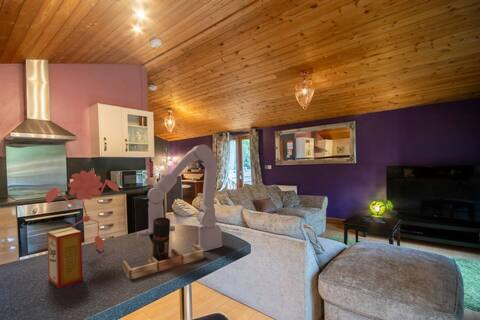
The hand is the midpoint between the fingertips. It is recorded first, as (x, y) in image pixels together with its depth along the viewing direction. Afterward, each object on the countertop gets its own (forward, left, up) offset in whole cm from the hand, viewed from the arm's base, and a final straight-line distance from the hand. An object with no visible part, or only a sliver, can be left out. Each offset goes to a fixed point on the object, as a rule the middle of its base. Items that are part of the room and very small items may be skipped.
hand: (157, 252), depth 99 cm
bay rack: (0, +9, -2) cm, 9 cm away
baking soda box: (+30, +1, -2) cm, 30 cm away
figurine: (+22, -19, -2) cm, 29 cm away
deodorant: (0, +4, -1) cm, 4 cm away
